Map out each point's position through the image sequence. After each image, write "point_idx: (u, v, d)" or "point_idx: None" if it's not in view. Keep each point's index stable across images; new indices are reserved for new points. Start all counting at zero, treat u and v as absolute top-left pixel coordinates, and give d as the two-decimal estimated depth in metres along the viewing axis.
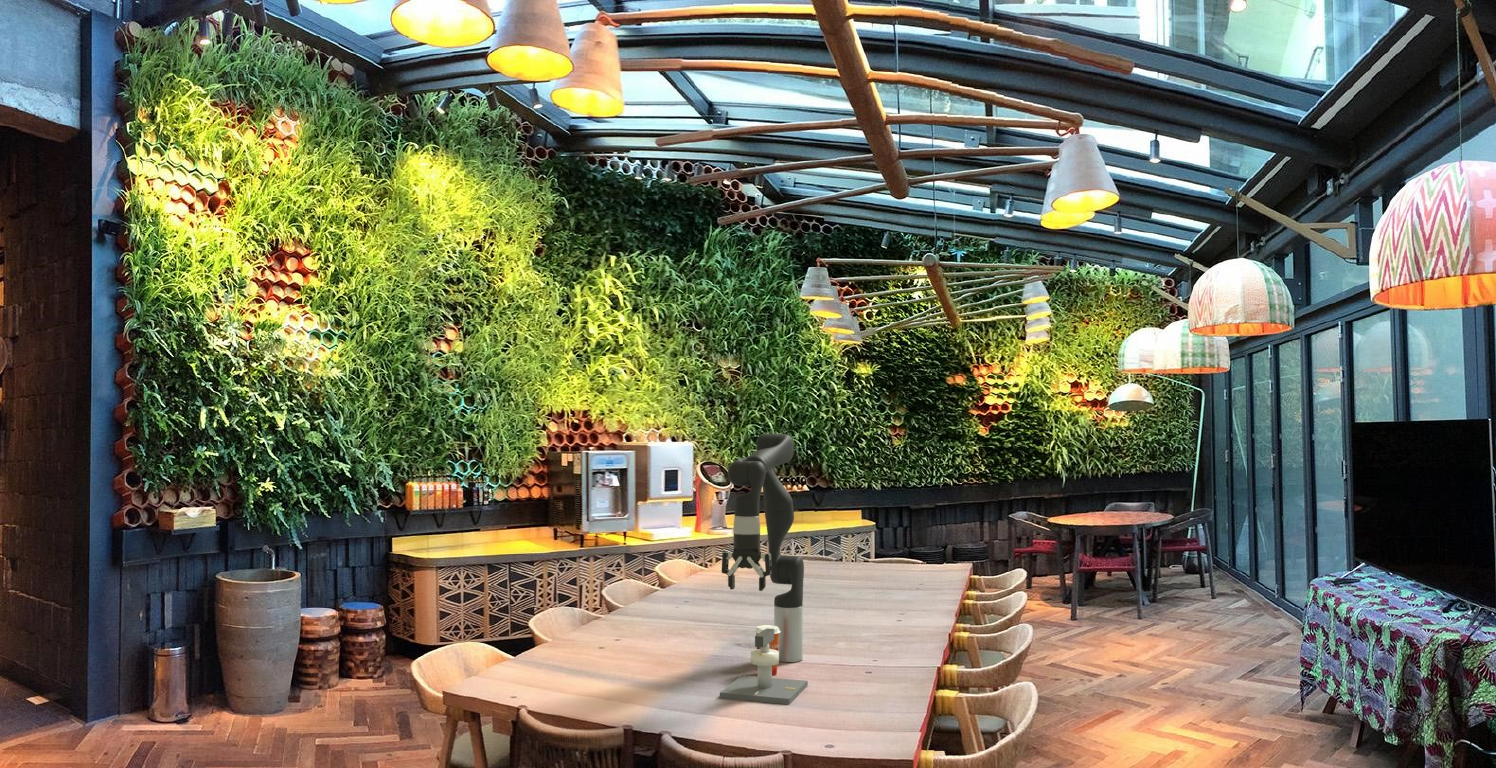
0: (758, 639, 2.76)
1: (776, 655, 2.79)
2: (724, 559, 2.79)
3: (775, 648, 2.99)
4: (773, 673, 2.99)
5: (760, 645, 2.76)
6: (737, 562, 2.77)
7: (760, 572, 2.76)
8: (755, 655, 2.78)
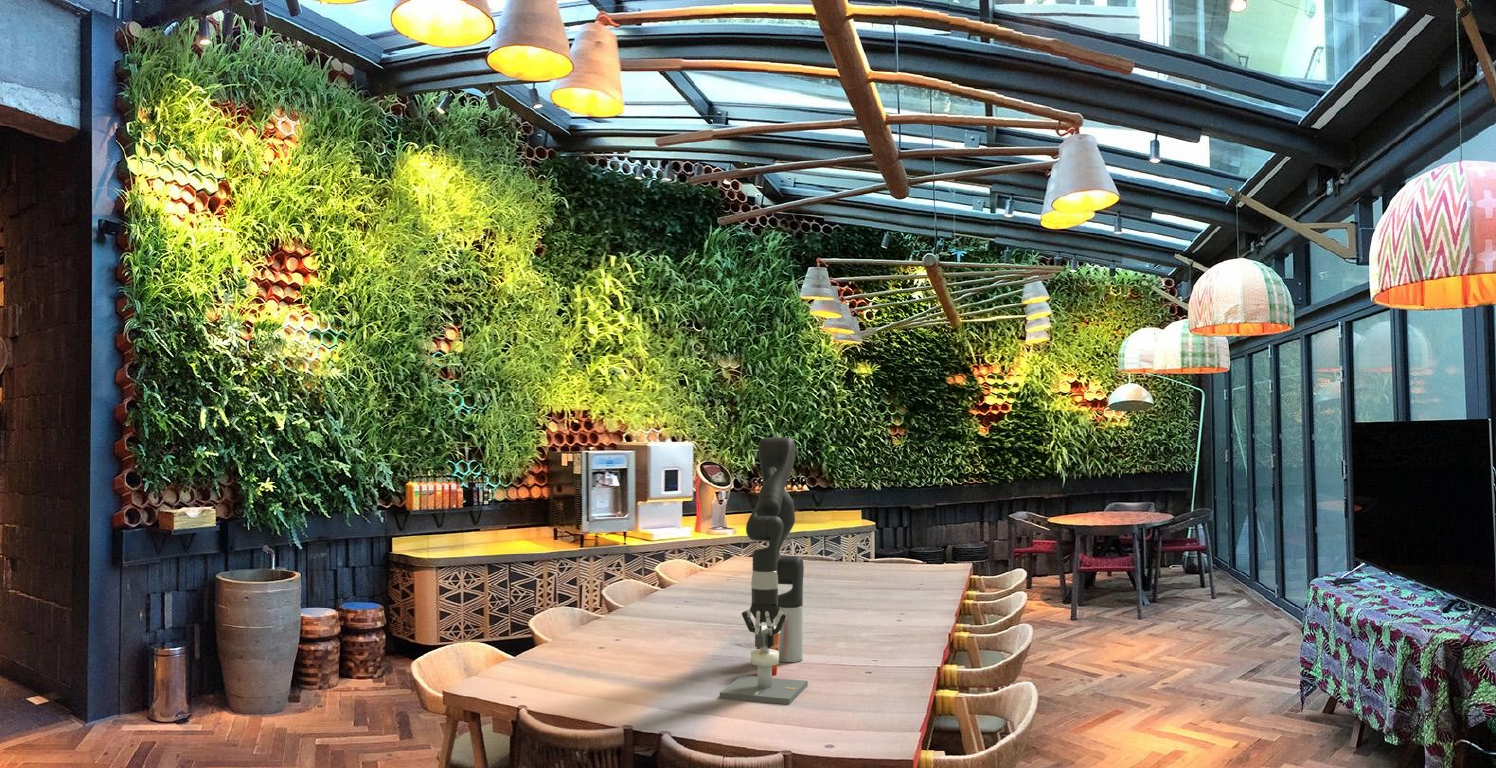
0: (758, 639, 2.76)
1: (776, 655, 2.79)
2: (746, 618, 2.82)
3: (775, 648, 2.99)
4: (773, 673, 2.99)
5: (760, 645, 2.76)
6: (758, 618, 2.80)
7: (770, 630, 2.79)
8: (755, 655, 2.78)
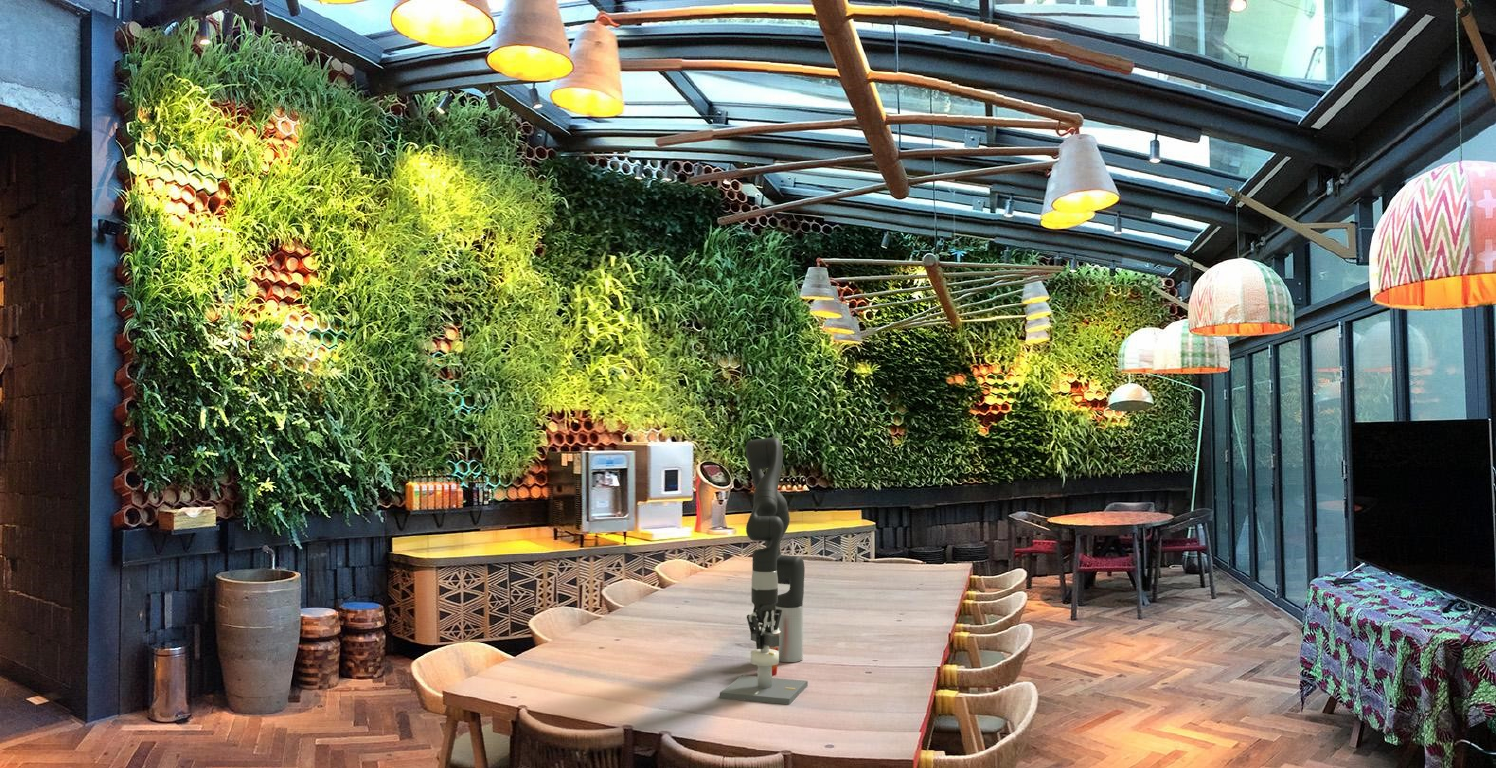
0: (774, 639, 2.76)
1: None
2: (756, 622, 2.76)
3: (775, 648, 2.99)
4: (773, 673, 2.99)
5: (777, 644, 2.77)
6: (765, 618, 2.79)
7: (773, 628, 2.82)
8: (767, 656, 2.77)
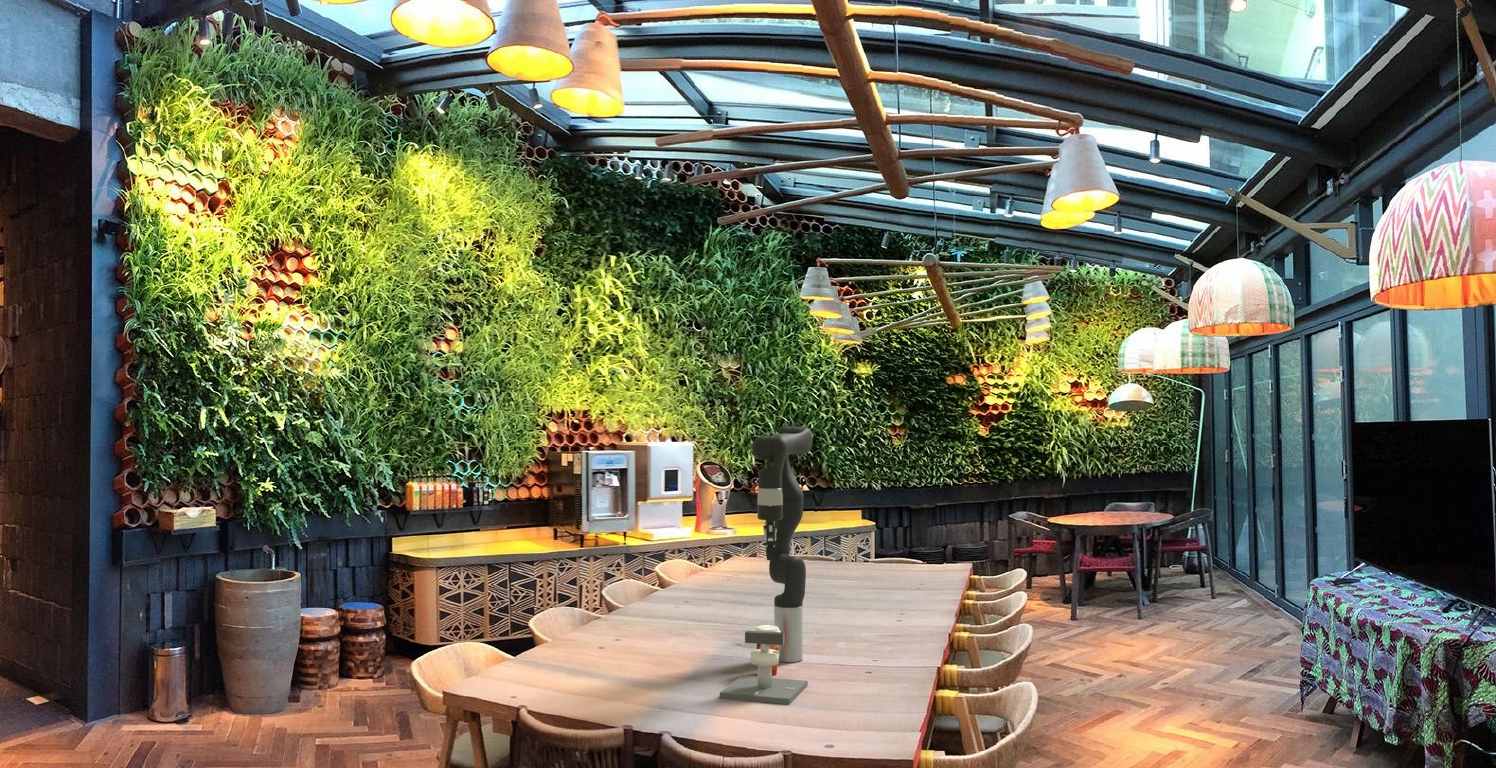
0: (783, 636, 2.80)
1: None
2: (774, 532, 2.88)
3: (775, 648, 2.99)
4: (773, 673, 2.99)
5: (784, 642, 2.80)
6: (776, 532, 2.92)
7: None
8: (776, 655, 2.78)
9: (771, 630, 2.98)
